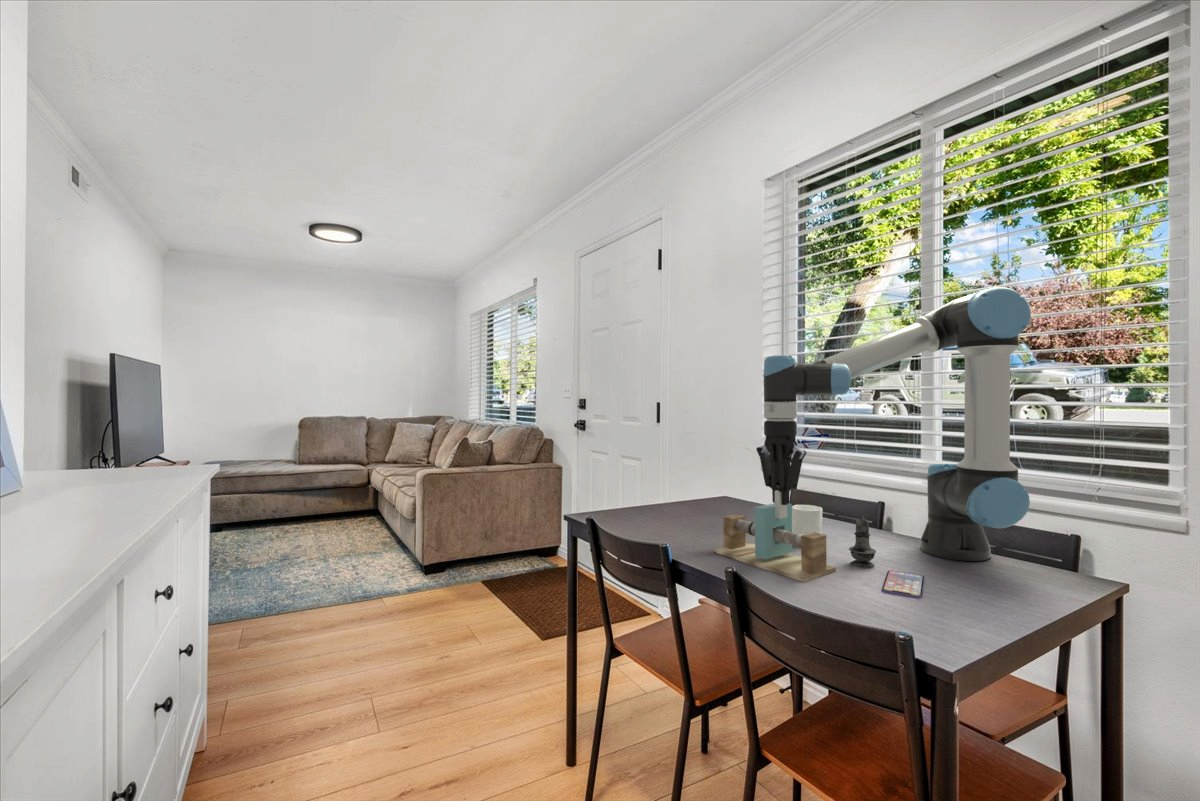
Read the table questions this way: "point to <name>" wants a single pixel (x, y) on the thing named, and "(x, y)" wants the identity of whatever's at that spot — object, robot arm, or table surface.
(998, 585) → the table surface
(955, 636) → the table surface
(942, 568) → the table surface
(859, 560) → the black chess piece
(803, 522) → the white cup
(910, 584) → the smartphone
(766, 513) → the collar
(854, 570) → the table surface
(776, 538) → the pipe stand
